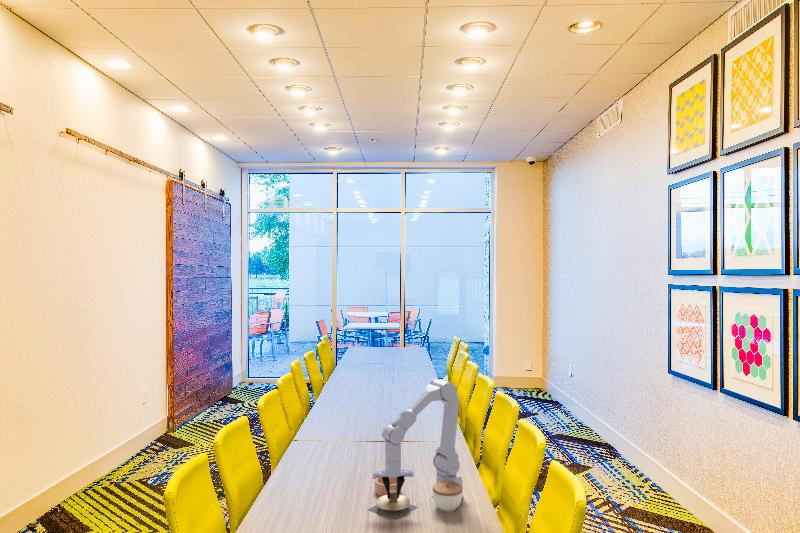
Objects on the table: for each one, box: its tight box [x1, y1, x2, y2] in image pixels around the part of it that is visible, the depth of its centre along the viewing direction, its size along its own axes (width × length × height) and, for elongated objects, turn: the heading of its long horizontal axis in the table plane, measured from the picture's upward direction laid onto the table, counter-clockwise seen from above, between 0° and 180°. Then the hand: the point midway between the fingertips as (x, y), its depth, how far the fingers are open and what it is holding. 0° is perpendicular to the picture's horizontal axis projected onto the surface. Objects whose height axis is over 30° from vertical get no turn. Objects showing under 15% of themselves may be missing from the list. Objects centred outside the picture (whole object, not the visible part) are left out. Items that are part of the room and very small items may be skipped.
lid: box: [375, 490, 411, 511], centre depth 199 cm, size 12×12×4 cm
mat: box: [367, 504, 419, 521], centre depth 199 cm, size 13×13×1 cm
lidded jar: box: [432, 481, 464, 513], centre depth 200 cm, size 11×11×9 cm
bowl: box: [374, 477, 403, 497], centre depth 215 cm, size 10×10×4 cm
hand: (393, 497), depth 199 cm, fingers closed on lid, 3 cm apart
